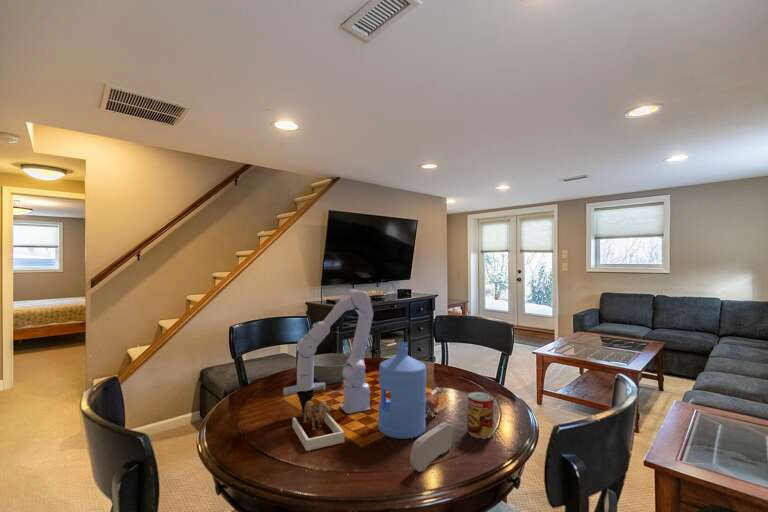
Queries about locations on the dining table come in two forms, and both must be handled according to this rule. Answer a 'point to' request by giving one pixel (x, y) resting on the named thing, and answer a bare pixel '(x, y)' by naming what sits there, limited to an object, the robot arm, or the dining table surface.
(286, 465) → the dining table surface
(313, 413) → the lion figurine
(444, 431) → the grey rounded slab
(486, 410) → the canned food
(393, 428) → the water jug
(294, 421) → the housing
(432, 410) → the bull figurine
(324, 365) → the ceramic bowl
